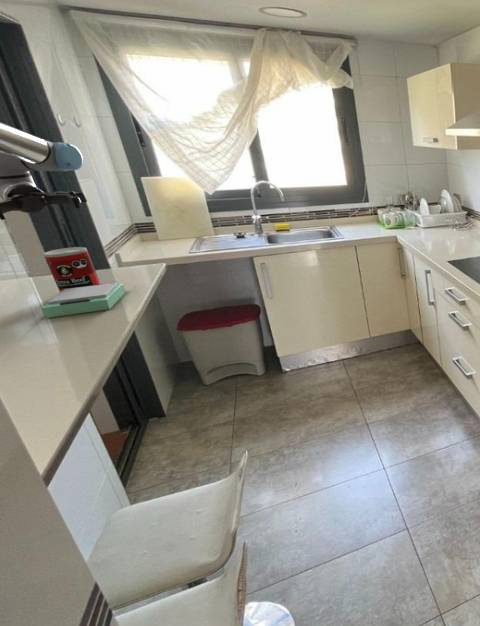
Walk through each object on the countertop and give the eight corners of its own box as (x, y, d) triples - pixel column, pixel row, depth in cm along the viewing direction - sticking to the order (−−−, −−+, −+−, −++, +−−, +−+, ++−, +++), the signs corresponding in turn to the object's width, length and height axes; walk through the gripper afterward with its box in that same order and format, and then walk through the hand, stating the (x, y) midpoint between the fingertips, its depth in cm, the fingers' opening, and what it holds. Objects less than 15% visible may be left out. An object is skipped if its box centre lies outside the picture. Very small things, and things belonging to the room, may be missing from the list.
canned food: (54, 298, 114) (36, 256, 110) (70, 289, 121) (53, 248, 117) (94, 294, 117) (77, 252, 113) (107, 285, 124) (92, 245, 120)
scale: (45, 318, 103) (40, 305, 102) (68, 299, 114) (63, 288, 113) (109, 309, 108) (105, 297, 107) (125, 292, 119) (121, 281, 118)
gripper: (91, 202, 138) (109, 212, 126) (-34, 221, 120) (-26, 234, 109) (79, 176, 134) (97, 184, 123) (-52, 192, 117) (-45, 203, 105)
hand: (39, 208), depth 116 cm, fingers open, 13 cm apart
